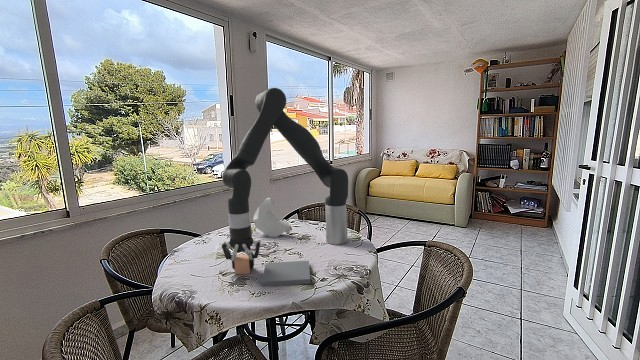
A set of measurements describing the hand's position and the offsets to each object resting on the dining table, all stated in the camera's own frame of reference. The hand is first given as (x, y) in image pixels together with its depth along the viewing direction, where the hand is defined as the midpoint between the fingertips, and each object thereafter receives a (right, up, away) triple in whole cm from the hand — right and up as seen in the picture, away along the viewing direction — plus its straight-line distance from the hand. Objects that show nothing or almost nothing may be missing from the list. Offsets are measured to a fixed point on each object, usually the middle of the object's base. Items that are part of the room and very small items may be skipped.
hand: (243, 268), depth 109 cm
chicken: (+5, +5, +36) cm, 37 cm away
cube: (0, -1, 0) cm, 1 cm away
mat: (+16, -1, -4) cm, 17 cm away
